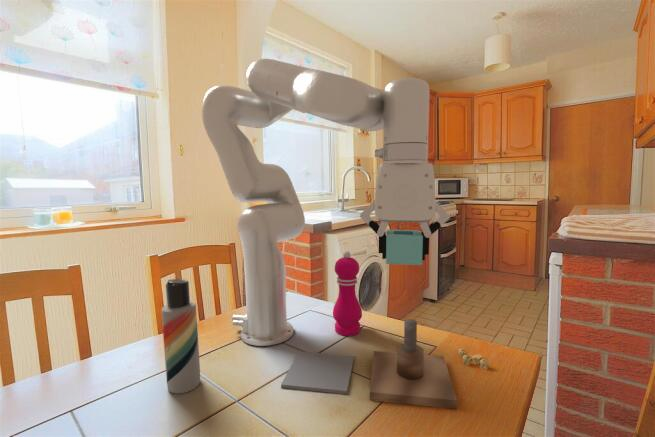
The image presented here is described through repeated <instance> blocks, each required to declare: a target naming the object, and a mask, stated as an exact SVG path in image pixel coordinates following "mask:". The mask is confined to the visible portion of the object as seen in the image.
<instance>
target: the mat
mask: <svg viewBox="0 0 655 437" xmlns="http://www.w3.org/2000/svg"><path fill="white" fill-rule="evenodd" d="M354 361H355V355H350V354H349V355H347V354H337V353H336V354H335V353H322V352H313V351H312V352H311V351H310V352H309V351H297V354H296V356H295V358H294V360H293V361H292V363H291V365H290V367H289V369H288V371H287V372H286V374H285V376H284V378H283V380H282V382H281V383H280V388H281V389H291V390H292V389H293V390H302V391H311V392H313V391H314V392H321V393H323V392H324V393H330V394H331V393H333V394H342V395H343V394H344V395H348V391H349V386H350V381H351V376H352V372H353V365H354Z"/></svg>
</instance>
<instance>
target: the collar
mask: <svg viewBox="0 0 655 437" xmlns="http://www.w3.org/2000/svg"><path fill="white" fill-rule="evenodd" d="M421 232H422V231H421V230H419V229H418V230H415V229H414V230H413V229H411V230H408V229H386V258H385V264H386V265H406V266H408V265H409V266H411V265H412V266H423V260H422V249H423V235H422V234H421Z"/></svg>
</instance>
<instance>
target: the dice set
mask: <svg viewBox="0 0 655 437" xmlns="http://www.w3.org/2000/svg"><path fill="white" fill-rule="evenodd" d="M467 353H468V352H467V350H466V349H464V348H459V349H458V356H459V358H461V359H462V364H463V365H465V366H471V365H472V364H471V362H473V363H474V364H475V365H479V367H480V369H482V370H488V369H489V360H488V359H485V358H483V356H482V355H480V354H474V355H471V354H470V355H467Z"/></svg>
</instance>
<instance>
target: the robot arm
mask: <svg viewBox="0 0 655 437" xmlns="http://www.w3.org/2000/svg"><path fill="white" fill-rule="evenodd" d="M246 83H247V86H248V88H249V90H248V89H244V88H240V87H236V86H232V85H215V86H212V88H209V89H208V90H207V92H206V93H205V95H204V98H203V100H202V107H201V116H202V123H203V127H204V131H205V132H206V134H207V136H208V138H209V141H210V142H211V144H212V146H213V148H214V150H215V152H216V154H217V156H218V159H219V163H220V165H221V169H222V170H223V173H224V176H225V178H226V181H227V184H228V187H229V190H230V191H231V194H232V195H233V197H234V199H236V201H238V202H240V203H262V202H266V203H264V204H263V203H262V204H257V205H256V204H255V205H252V206H249V207H247V208H246V209H244V210H243V211H242V212H241V213H240V215H239V217H238V219H237V220H238V221H237V230H238V232H237V233H238V236H239V238H240V243H241V248H242V249H241V250H242V256H243V269H244V288H245V290H244V291H245V311H246V312H245V313H246V314H245V315H242V314H233V316H232V318H231V320H232V326H233V327H241V328H242V329H241V330H240V339H241V340H242V341H243V342H244V343H246V344H248V345H252V346H257V347H258V346H259V347H264V346H265V347H268V346H274V345H277V344H281V343H283V342H286V341H287V340H289V339H290V338H291V337H292V336H293V335H294V326H293V325H292V323H290V322H289V321H287V317H288V316H287V293H286V292H287V288H286V286H287V284H286V263H285V258H284V255H283V253H282V251H281V249H280V247H279V245H278V243H281V242H285V241H289V240H293V239H295V238H298V237H299V236H300V235H301V234H302V233H303V231H304V229H305V226H306V225H305V223H306V219H305V214H304V210H303V207H302V205H301V202H300V201H299V197H298V194H297V192H296V189H295V187H294V185H293V182H292V180H291V178H290V175H289V174H288V173H287V171H286V170H285V169H284V168H283V167H281V166H280V165H277V164H274V163H262V162H260V159H259V158H258V156H257V153H256V152H255V149H254V147H253V144H252V142H251V140H249V138H248V137H247V136H246V134H245V133H244V132H243V131H242V130H241V129H240V128H239V127H238V126H241V127H246V128H247V127H248V128H255V129H263V128H267V127H269V126H271V125H273V124H274V123H276V122H277V121H279V120H280V119H282V118H283V117H284V116H286V115H287V114H288V113H290V112H291V111H293V110H294V111H297V112H300V113H303V114H309V115H312V116H315V117H319V118H320V119H324V120H327V121H329V122H332V123H336V124H338V125H339V124H340V125H342V126H346V127H351V128H355V129H359V130H363V131H367V132H377V131H381V130H383V132H382V133H383V137H382V138H383V140H382V141H383V142H382V145H383V147H381V148H379V149H374V157H375V158H379V159H381V160H382V163H379V164H378V166H377V171H376V177H375V192H374V200H373V201H372V202H371V203H370V204H369V205H368V206H367V207H366V208H365V209H364V210H363V211H362V212H361V213H360V215H359V216H360V217H359V218H361V220H363V221H364V223H365V224H367V225H368V227H369V228H370V229H371V230H373V232H374V233H376V234H377V237H378V254H382V257H381V258H382V260H386V234H387V228H388V225H389V223H419V224H418V225H419V226H420V227H419V228H420V229H421V231H420V232H421V234H422V235H423V249H422V261H425V260H426V255H429V254H430V251H429V250H430V238H431V237H432V235H433V234H434V233H435V232H437V231H438V230H439V229H440V228H441V227H442V226H443V225H444V224H445V223H446V222H448V221H449V220H450V218H451V215H450V214H449V213H448V212H447V211H446V210H445V209H444V208H443V206H441V205H440V204H439V203H438V202H437V201H436V183H435V182H436V180H435V179H436V178H435V172H434V166H433V163H432V162H428V159H429V158H428V157H429V123H430V122H429V119H430V115H429V114H430V86H429V84H428V82H427V81H426V80H424V79H422V78H417V77H405V78H404V77H402V78H398V79H394V80H391V81H390V82H389V83H387V84H386V86H385V88H384V89H381V88H378V87H373V86H372V85H369V84H368V83H365V82H363V81H362V80H358V79H356V78H352V77H349V76H345V75H342V74H337V73H333V72H328V71H324V70H319V69H314V68H311V67H304V66H302V65H301V66H300V65H297V64H293V63H288V62H285V61H282V60H278V59H277V60H276V59H273V58H260V59H257V60H255V61H253V62H252V63H251V64H250V65H249V67H248V69H247V70H246ZM373 212H374V216H375V218H376V219H377V220H378V221H380V223H378V222H376V220H375V219H373V218H372V217H371V214H372V213H373ZM436 214H437V215H438V216H437V218H436V219H435V220H434V218H435V216H436ZM431 221H432V222H431ZM428 222H430V224H428Z"/></svg>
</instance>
